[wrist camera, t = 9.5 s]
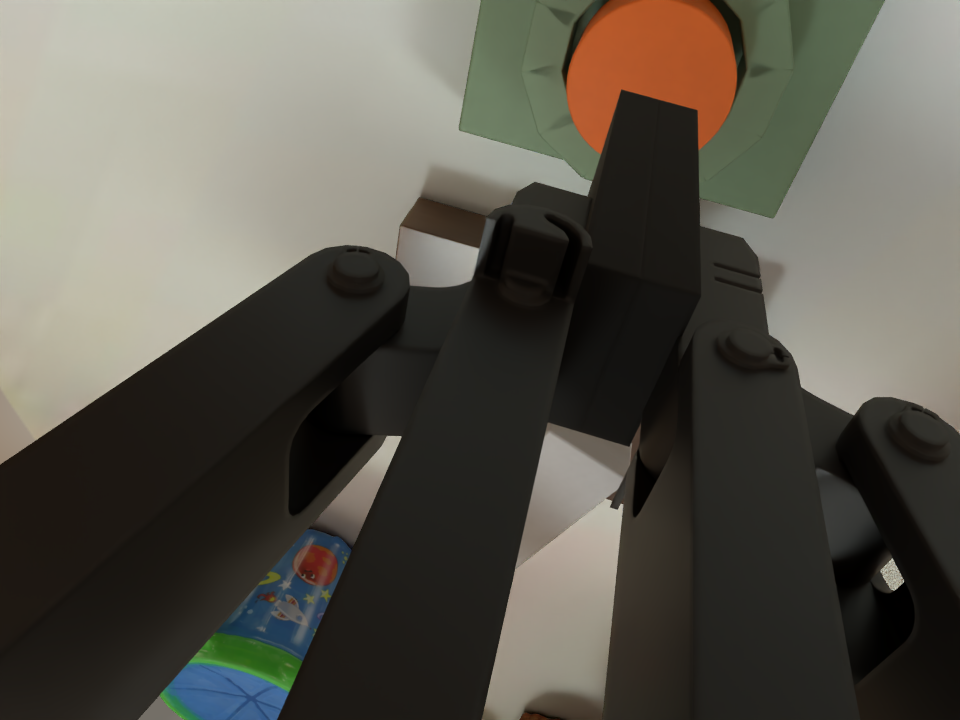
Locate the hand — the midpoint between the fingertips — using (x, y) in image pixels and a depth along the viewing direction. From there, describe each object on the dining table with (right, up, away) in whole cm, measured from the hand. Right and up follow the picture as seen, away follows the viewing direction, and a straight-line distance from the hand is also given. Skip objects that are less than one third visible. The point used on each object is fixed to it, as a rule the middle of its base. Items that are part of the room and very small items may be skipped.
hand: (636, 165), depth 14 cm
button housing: (+3, +7, +9) cm, 11 cm away
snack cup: (-13, -17, +32) cm, 38 cm away
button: (+2, +5, +6) cm, 8 cm away
